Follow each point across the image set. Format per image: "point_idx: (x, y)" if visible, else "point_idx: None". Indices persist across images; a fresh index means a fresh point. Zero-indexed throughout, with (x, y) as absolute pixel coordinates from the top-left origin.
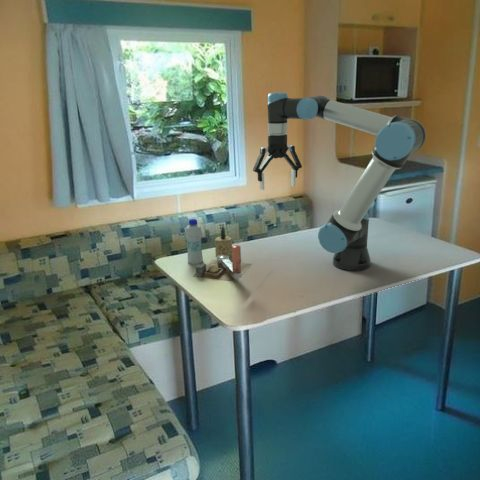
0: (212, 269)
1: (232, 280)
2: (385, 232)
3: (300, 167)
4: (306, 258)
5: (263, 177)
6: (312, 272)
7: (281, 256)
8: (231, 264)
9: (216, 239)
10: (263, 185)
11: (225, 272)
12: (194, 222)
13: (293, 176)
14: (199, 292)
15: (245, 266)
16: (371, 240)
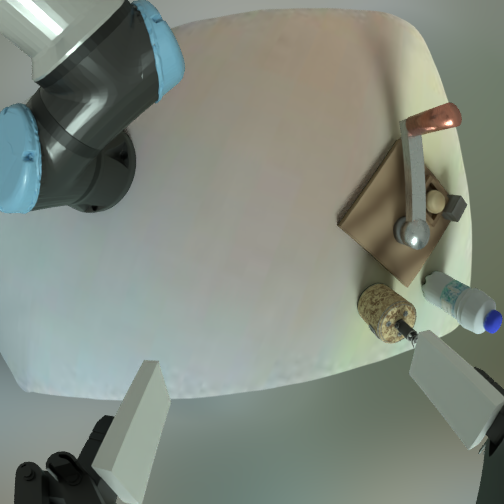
0: (440, 192)
1: None
2: (6, 320)
3: (32, 467)
4: (180, 237)
5: (479, 382)
6: (203, 140)
7: (239, 273)
8: (415, 175)
9: (414, 320)
10: (440, 348)
11: None
12: (496, 312)
13: (133, 426)
14: (452, 145)
15: (360, 216)
16: (26, 293)
